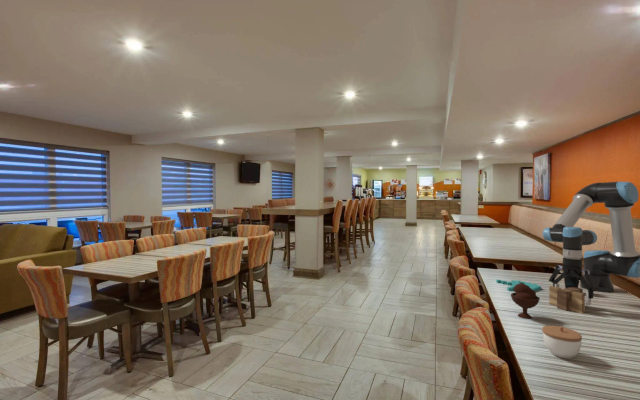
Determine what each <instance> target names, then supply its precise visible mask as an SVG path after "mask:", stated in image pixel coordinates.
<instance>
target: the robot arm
mask: <svg viewBox="0 0 640 400" xmlns="http://www.w3.org/2000/svg"><path fill="white" fill-rule="evenodd" d="M638 201H639V191H638V188H637V186H636V185H635V184H634V183H633V182H631V181H607V182H605V181H604V182H594V183H591V184H588V185H586V186H583V187H582V188H581V189H580V190H579V191H577V192H576V193H575V194H574V195H573V197H572V202H571V203H570V204H569V205H568V207H566V209H565V210H564V212H563V213H562V214H561V216H560V217H559V218H558V220H557V221H555V224H553V225H552V227H545V228H543V231H542V237H543V239H544V240H545V241H548V242H552V243H562V265H561V264H557V265H555V268H554V270H553V272H552V273H551V275H550V277H549V279H548V281H549V282H551V283H552V286H554V287H558V288H560V282H561V281H562V280H564V277H565V276H572V277H577V279H579V287H580V288H581V289H585V290H586V291H585V305H586V306H590V305H592V299H594V292H604V293H613V292H614V289H615V286H614V285H613V283H612V279H611V277H610V276H611V275H617V276H621V277H627V278H635V279H639V278H640V252H639V251H637V250H636V245H635V244H636V243H635V235H634V227H633V218H632V210H631V209H632V208H633V207H634V206H635V203H637V202H638ZM598 203H599V204H604V208H606V209H607V210H608V212H609V220H610V221H609V222H610V228H611V229H610V230H611V237H612V245H613V250H611V252H610V250H604V249H603V250H602V249H599V250H598V249H593V250H592V249H591V250H585V251H584V253H583V246H590V245H593V244H595V243H596V242H597V240H598V235H597V233H596V232H594V231H593V230H589V229H584V230H583V229H582V227H579V226H576V224H577V222H578V221H579V220H580V218H581V217H582V216H583V214H584V213H585V211H586V210H587V209H588V208H591V206H593V204H598ZM582 258H583V259H582ZM561 270H563V272H562V273H561V274H560V272H561ZM559 274H560V275H559ZM558 275H559V276H558Z"/></svg>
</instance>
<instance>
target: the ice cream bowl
mask: <svg viewBox="0 0 640 400" xmlns="http://www.w3.org/2000/svg"><path fill="white" fill-rule="evenodd" d="M513 291H514V292H512V293H510V298H511V299H512V301H513V302H514V304H516V305H517V306H518V307H519V308H521V309H522V312H520V313H518V314H517V317H519V318H521V319H526V320H532V319H533V316H532V315H531V314H529V313H528V309H533V308H534V307H536V306H537V305H539V303H540V297H539V296H537V292H535V291H534V290H533V289H531V288H529V287H528V286H527V285H525V284H517V285H515V287H514V290H513Z"/></svg>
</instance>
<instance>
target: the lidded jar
mask: <svg viewBox="0 0 640 400" xmlns="http://www.w3.org/2000/svg"><path fill="white" fill-rule="evenodd" d="M541 329H542V339H543V343H544V345H545V347H546V348H547V349H548V350H549V351H550V353H551V354H552V355H554V356H556V357H558V358H562V359H567V360H568V359H573V357H575V356H577V355H578V354H579V352H580V351H581V348H582V339H583V336H582V335H581V334H580V332H578V331H576V330H574V329H571V328H569V327H568V328H567V327H564V326H561V325H560V326H557V325H545V326H542V328H541Z"/></svg>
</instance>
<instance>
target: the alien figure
mask: <svg viewBox="0 0 640 400" xmlns="http://www.w3.org/2000/svg"><path fill="white" fill-rule="evenodd" d="M495 281H496V284H502V285H507V287H506V288H507V289H506V290H507V291H508V292H513V291H514V287H515V285H517V284H525V285H527V286H528V287H529V288H531V289H533V290H534V291H535V292H536V293H537V292H538V291H540V290H541V291H542V286H541V285H539V284H538V283H537V284H536V283H531V282H527V281H521V280H514V279H513V280H511V281H507V280H501V279H496V280H495Z"/></svg>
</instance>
